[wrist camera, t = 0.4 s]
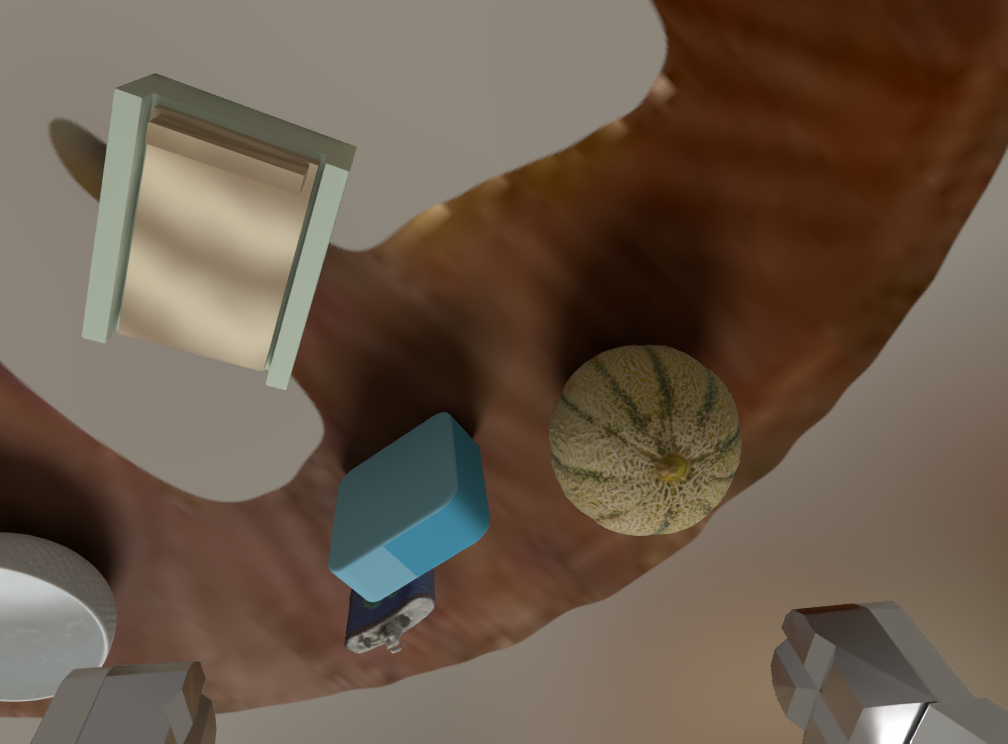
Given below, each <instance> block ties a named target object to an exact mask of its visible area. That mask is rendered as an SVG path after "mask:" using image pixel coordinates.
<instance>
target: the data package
mask: <svg viewBox="0 0 1008 744" xmlns="http://www.w3.org/2000/svg"><path fill="white" fill-rule="evenodd" d="M489 523H490V515H489V508H488V501H487V495H486V488H485V481H484V475H483V468H482V462H481V455H480V449H479V446H478V445H477V444H476V442H475V441H474V440H473V439H472V438H471V437H470V436H469V435H468V434H467V433H466V431H465V430H464V429H463V428H462V427H461V426H460V425H459V424H458V423H457V422H456V420H455V419H454V418H453V417H452V416H451V415H450V414H449V413H446V412H442V413H438V414H436V415H434V416H432V417H431V418H429V419H428V420H426V421H425V422H423V423H422V424H420V425H419V426H417V427H416V428H414V429H413V430H411V431H410V432H408V433H407V434H405V435H404V436H402V437H401V438H399V439H398V440H396V441H395V442H393V443H392V444H390V445H388V446H387V447H385V448H384V449H382V450H381V451H379V452H378V453H376V454H375V455H373V456H372V457H370V458H369V459H367V460H366V461H364V462H363V463H361V464H360V465H358V466H357V467H355V468H354V469H352V470H351V471H350V472H349V473H348V474H347V475H346V476H345V477H344V478H343V480H342V481H341V483H340V486H339V490H338V497H337V504H336V512H335V519H334V526H333V534H332V541H331V548H330V555H329V564H328V565H329V569H330V571H331V572H332V573H334V574H335V575H336V576H337V577H339V578H340V579H341V580H342V581H344V582H345V583H346V584H347V585H348V586H350V587H351V588H352V589H353V590H355V591H356V592H357V593H358V594H360V595H361V596H362V597H363V598H365V599H366V600H367V601H369V602H376V601H379V600H381V599H383V598H385V597H386V596H388V595H390V594H391V593H393V592H394V591H396V590H398V589H399V588H401V587H403V586H404V585H406V584H408V583H409V582H411V581H413V580H414V579H416V578H418V577H419V576H421V575H423V574H424V573H426V572H428V571H429V570H431V569H432V568H434V567H436V566H437V565H439V564H441V563H442V562H444V561H446V560H447V559H449V558H451V557H452V556H454V555H456V554H457V553H459V552H461V551H462V550H464V549H465V548H467V547H469V546H470V545H472V544H474V543H475V542H477V541H478V540H479V539H480V538H481V537H482V536H483V535H484V534H485V532H486V530H487V529H488V526H489Z"/></svg>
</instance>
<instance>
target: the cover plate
mask: <svg viewBox="0 0 1008 744" xmlns="http://www.w3.org/2000/svg"><path fill="white" fill-rule="evenodd" d="M145 143H146V144H147V149H146V155H145V162H144V168H143V174H142V181H141V187H140V193H139V200H138V206H137V212H136V219H135V225H134V232H133V238H132V244H131V251H130V257H129V263H128V270H127V276H126V282H125V289H124V295H123V302H122V308H121V314H120V321H119V327H118V334H122V335H126V336H129V337H133V338H137V339H141V340H145V341H149V342H152V343H156V344H160V345H164V346H167V347H171V348H175V349H179V350H183V351H186V352H190V353H194V354H198V355H202V356H206V357H209V358H213V359H217V360H221V361H224V362H228V363H232V364H236V365H240V366H243V367H247V368H251V369H255V370H258V371H262V372H263V371H264V368H265V366H266V363H267V359H268V355H269V352H270V348H271V344H272V341H273V337H274V333H275V329H276V326H277V322H278V318H279V315H280V311H281V307H282V303H283V300H284V296H285V292H286V288H287V285H288V281H289V277H290V274H291V270H292V266H293V262H294V259H295V255H296V251H297V248H298V244H299V240H300V236H301V233H302V229H303V225H304V222H305V218H306V214H307V210H308V207H309V203H310V199H311V196H312V192H313V188H314V184H315V181H316V177H317V173H318V169H319V166H320V162H321V161H318V160H315V159H313V158H310V157H307V156H304V155H301V154H299V153H296V152H293V151H290V150H287V149H285V148H282V147H279V146H276V145H273V144H270V143H268V142H265V141H262V140H259V139H256V138H254V137H251V136H248V135H245V134H242V133H239V132H237V131H234V130H231V129H228V128H225V127H223V126H220V125H217V124H214V123H211V122H208V121H206V120H203V119H200V118H197V117H194V116H192V115H189V114H186V113H183V112H180V111H178V110H175V109H172V108H169V107H166V106H163V105H161V104H159V105H157V106H155V107H153V111H152V117H151V120H150V121H148V125H147V132H146V138H145Z"/></svg>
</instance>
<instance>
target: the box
mask: <svg viewBox="0 0 1008 744" xmlns="http://www.w3.org/2000/svg"><path fill="white" fill-rule="evenodd" d="M159 104H161V105H163V106H166V107H169V108H172V109H175V110H178V111H180V112H183V113H186V114H189V115H192V116H194V117H197V118H200V119H203V120H206V121H208V122H211V123H214V124H217V125H220V126H223V127H225V128H228V129H231V130H234V131H237V132H239V133H242V134H245V135H248V136H251V137H254V138H256V139H259V140H262V141H265V142H268V143H270V144H273V145H276V146H279V147H282V148H285V149H287V150H290V151H293V152H296V153H299V154H301V155H304V156H307V157H310V158H313V159H315V160H318V161H321V162H320V166H319V169H318V173H317V177H316V181H315V184H314V188H313V192H312V196H311V199H310V203H309V207H308V210H307V214H306V218H305V222H304V225H303V229H302V233H301V236H300V240H299V244H298V248H297V251H296V255H295V259H294V262H293V266H292V270H291V274H290V277H289V281H288V285H287V288H286V292H285V296H284V300H283V303H282V307H281V311H280V315H279V318H278V322H277V326H276V329H275V333H274V337H273V341H272V344H271V348H270V352H269V355H268V359H267V363H266V366H265V368H264V369H265V370H269V374H268V378H267V381H266V385H267V386H271V387H275V388H279V389H283V390H286V388H287V385H288V382H289V378H290V375H291V372H292V368H293V365H294V362H295V358H296V355H297V352H298V348H299V345H300V342H301V338H302V335H303V331H304V328H305V324H306V321H307V317H308V314H309V310H310V307H311V304H312V300H313V297H314V293H315V290H316V286H317V283H318V279H319V276H320V272H321V269H322V266H323V262H324V259H325V255H326V252H327V248H328V245H329V241H330V238H331V234H332V231H333V227H334V224H335V220H336V217H337V213H338V210H339V206H340V203H341V200H342V196H343V193H344V189H345V186H346V183H347V179H348V176H349V172H350V169H351V165H352V162H353V158H354V155H355V151H356V148H357V147H355V146H352V145H350V144H347V143H344V142H341V141H339V140H336V139H333V138H331V137H328V136H325V135H322V134H319V133H317V132H314V131H311V130H309V129H306V128H303V127H300V126H298V125H295V124H292V123H289V122H287V121H284V120H281V119H278V118H276V117H273V116H270V115H268V114H265V113H262V112H260V111H257V110H254V109H251V108H249V107H245V106H243V105H240V104H237V103H235V102H232V101H229V100H227V99H224V98H221V97H218V96H216V95H213V94H210V93H208V92H205V91H202V90H199V89H197V88H194V87H191V86H189V85H186V84H183V83H180V82H178V81H175V80H172V79H169V78H167V77H164V76H161V75H159V74H156V73H155V74H152V75H150V76H147V77H144V78H141V79H139V80H136V81H133V82H130V83H128V84H125V85H122V86H120V87H117V88H115V90H114V97H113V105H112V112H111V120H110V128H109V136H108V143H107V150H106V158H105V165H104V173H103V180H102V188H101V196H100V203H99V211H98V218H97V227H96V234H95V241H94V249H93V256H92V264H91V272H90V279H89V287H88V294H87V302H86V309H85V317H84V325H83V332H82V338H86V339H89V340H93V341H97V342H101V343H106V342H107V341H108V340H109V339H110V337H111V336H112V335H113V334H114V333H115V331H116V330H118V327H119V321H120V314H121V308H122V302H123V295H124V289H125V282H126V276H127V270H128V263H129V257H130V251H131V244H132V238H133V232H134V225H135V219H136V212H137V206H138V200H139V193H140V187H141V181H142V174H143V168H144V162H145V155H146V149H147V144H146V143H145V138H146V132H147V125H148V121H150V120H151V117H152V111H153V107H155V106H157V105H159Z"/></svg>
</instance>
